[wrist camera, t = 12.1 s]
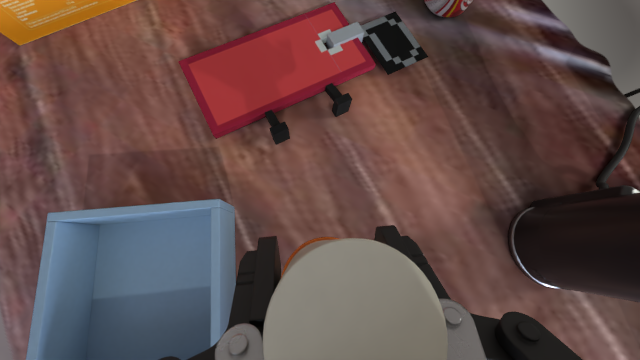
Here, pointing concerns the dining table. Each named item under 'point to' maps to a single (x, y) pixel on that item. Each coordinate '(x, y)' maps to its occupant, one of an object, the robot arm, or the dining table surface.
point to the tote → (134, 282)
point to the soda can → (447, 7)
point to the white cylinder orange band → (353, 306)
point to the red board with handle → (293, 67)
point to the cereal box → (48, 16)
